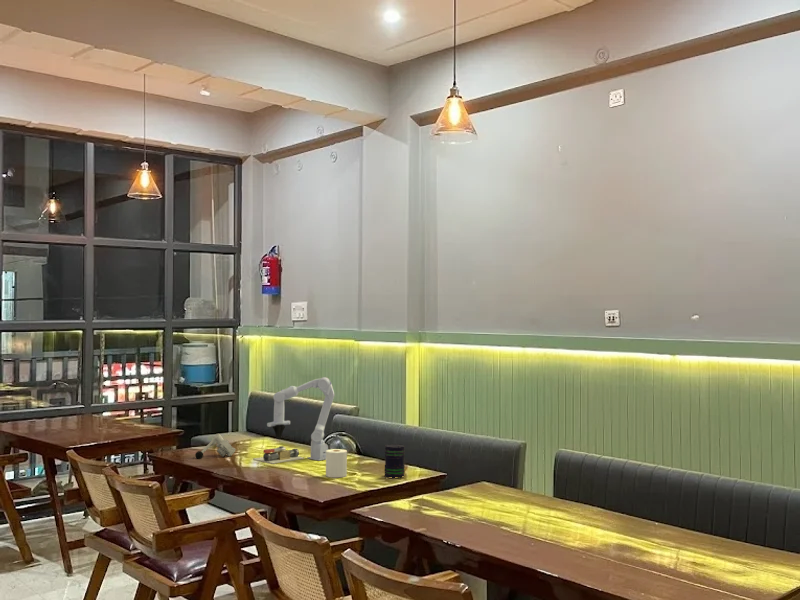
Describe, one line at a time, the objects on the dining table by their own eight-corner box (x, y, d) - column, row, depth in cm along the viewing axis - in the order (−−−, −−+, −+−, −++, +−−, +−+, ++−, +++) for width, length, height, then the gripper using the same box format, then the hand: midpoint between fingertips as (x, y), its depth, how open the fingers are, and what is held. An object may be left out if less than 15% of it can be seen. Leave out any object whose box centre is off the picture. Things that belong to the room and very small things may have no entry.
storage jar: (380, 475, 374) (380, 445, 375) (395, 473, 381) (396, 443, 381) (393, 479, 367) (393, 447, 367) (408, 477, 373) (409, 446, 374)
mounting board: (304, 458, 418) (304, 457, 418) (272, 463, 401) (272, 462, 401) (285, 454, 428) (285, 453, 428) (253, 459, 412) (253, 458, 412)
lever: (281, 449, 417) (281, 445, 417) (287, 450, 414) (287, 446, 414) (262, 452, 406) (262, 448, 406) (267, 453, 403) (267, 449, 403)
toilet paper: (350, 475, 375) (351, 450, 375) (337, 478, 366) (338, 453, 367) (334, 472, 381) (334, 448, 381) (321, 476, 372) (321, 450, 372)
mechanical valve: (238, 451, 420) (221, 431, 416) (215, 475, 411) (197, 455, 407) (231, 450, 429) (214, 430, 424) (207, 474, 420) (190, 454, 415)
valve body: (300, 458, 419) (300, 449, 419) (269, 462, 403) (269, 453, 404) (292, 456, 423) (292, 448, 423) (261, 461, 408) (262, 452, 408)
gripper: (284, 412, 427) (284, 436, 427) (263, 414, 416) (263, 439, 416) (293, 413, 422) (292, 438, 422) (272, 415, 411) (271, 440, 411)
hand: (278, 438), depth 418 cm, fingers closed
